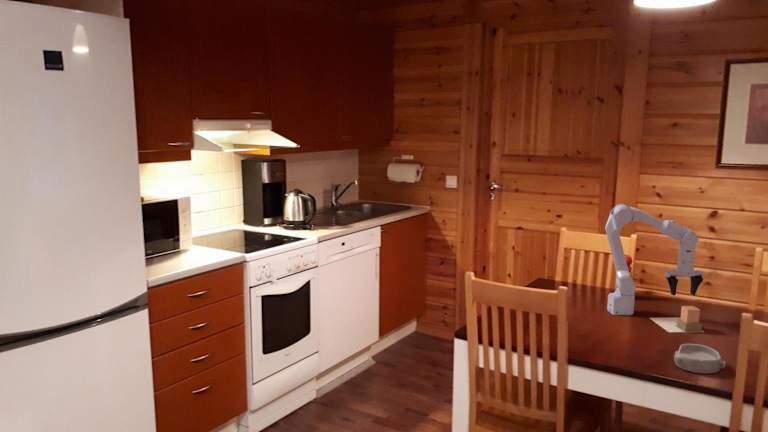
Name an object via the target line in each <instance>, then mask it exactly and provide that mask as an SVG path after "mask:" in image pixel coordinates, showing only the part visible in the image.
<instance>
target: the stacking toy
mask: <svg viewBox="0 0 768 432" xmlns="http://www.w3.org/2000/svg"><path fill="white" fill-rule="evenodd" d="M624 255H625V259H626V262H627V266H628V270H629V273H630V276H631V277H632V280H633V279H634V278H633V271H632V270H633V267H632V266H631V265H632V264H633V258H632V256H630V255H627V254H624ZM617 288H618V286H617V284H616V288H615V290H616V289H617Z"/></svg>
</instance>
